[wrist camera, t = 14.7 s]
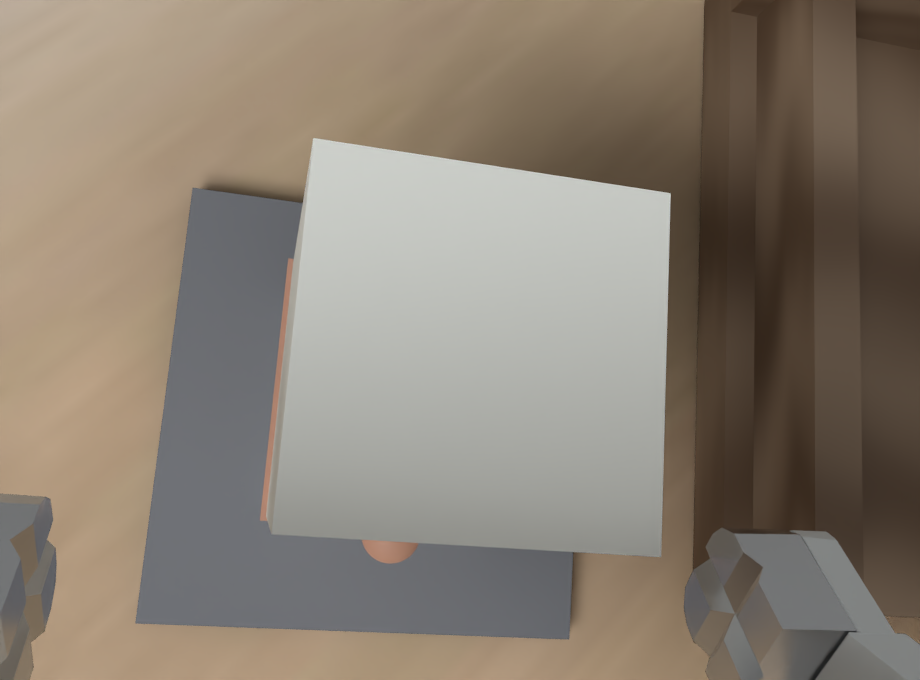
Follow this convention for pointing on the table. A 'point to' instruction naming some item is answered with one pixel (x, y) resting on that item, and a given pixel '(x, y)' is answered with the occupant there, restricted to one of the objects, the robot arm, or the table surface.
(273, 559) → the mat
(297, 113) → the table surface
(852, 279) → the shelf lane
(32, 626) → the robot arm
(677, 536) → the table surface
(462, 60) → the table surface
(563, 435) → the block
